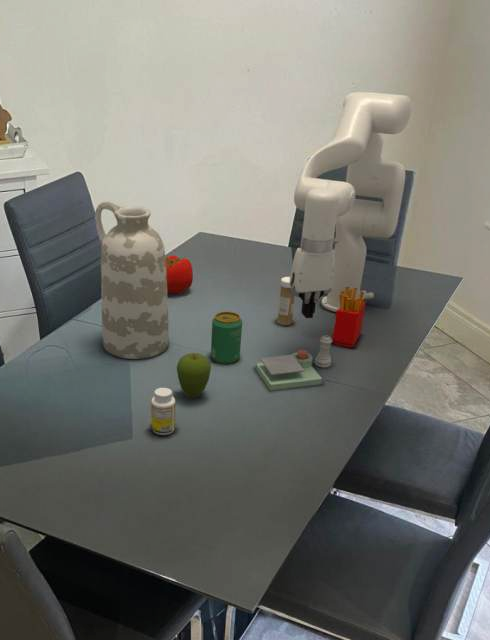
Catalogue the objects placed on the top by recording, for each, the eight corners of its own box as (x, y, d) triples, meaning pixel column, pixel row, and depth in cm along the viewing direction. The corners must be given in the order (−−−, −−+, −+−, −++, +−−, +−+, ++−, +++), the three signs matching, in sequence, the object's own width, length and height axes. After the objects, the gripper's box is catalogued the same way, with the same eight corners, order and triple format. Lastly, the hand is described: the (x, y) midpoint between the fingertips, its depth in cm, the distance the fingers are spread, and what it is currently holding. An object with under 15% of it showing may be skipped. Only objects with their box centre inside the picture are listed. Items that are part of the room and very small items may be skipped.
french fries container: (329, 344, 210) (336, 296, 201) (337, 331, 217) (344, 285, 208) (353, 348, 208) (362, 300, 199) (361, 335, 214) (369, 289, 206)
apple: (198, 407, 183) (200, 365, 175) (169, 398, 186) (170, 356, 179) (215, 392, 188) (217, 351, 181) (187, 384, 192) (188, 343, 185)
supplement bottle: (161, 421, 178) (161, 383, 171) (179, 428, 175) (180, 390, 169) (146, 430, 174) (146, 392, 168) (164, 438, 172) (164, 400, 165)
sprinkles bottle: (295, 323, 221) (300, 279, 212) (283, 327, 219) (288, 283, 210) (285, 318, 224) (289, 274, 215) (273, 321, 222) (277, 278, 213)
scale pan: (291, 356, 197) (292, 354, 196) (304, 371, 190) (304, 370, 190) (259, 359, 195) (260, 358, 195) (271, 375, 188) (271, 374, 188)
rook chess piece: (332, 362, 201) (336, 334, 196) (329, 369, 198) (333, 342, 193) (315, 359, 202) (319, 332, 198) (312, 367, 199) (316, 339, 194)
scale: (306, 362, 201) (308, 351, 199) (324, 384, 192) (326, 372, 190) (254, 368, 199) (255, 356, 196) (270, 390, 189) (271, 378, 187)
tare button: (304, 355, 198) (305, 349, 197) (308, 359, 196) (309, 353, 195) (295, 356, 197) (296, 350, 196) (299, 360, 195) (300, 354, 194)
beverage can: (223, 348, 208) (226, 308, 200) (245, 358, 203) (248, 316, 196) (204, 358, 203) (206, 316, 196) (226, 367, 199) (228, 325, 191)
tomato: (199, 288, 242) (200, 256, 236) (178, 301, 234) (179, 269, 227) (164, 279, 248) (164, 248, 242) (143, 292, 239) (142, 260, 233)
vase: (179, 337, 213) (180, 199, 189) (151, 365, 200) (149, 220, 176) (116, 325, 220) (111, 190, 196) (86, 351, 207) (76, 210, 183)
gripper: (339, 236, 182) (328, 307, 193) (281, 241, 179) (274, 313, 191) (352, 246, 176) (340, 319, 188) (293, 251, 174) (285, 325, 185)
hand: (307, 316), depth 189 cm, fingers closed
